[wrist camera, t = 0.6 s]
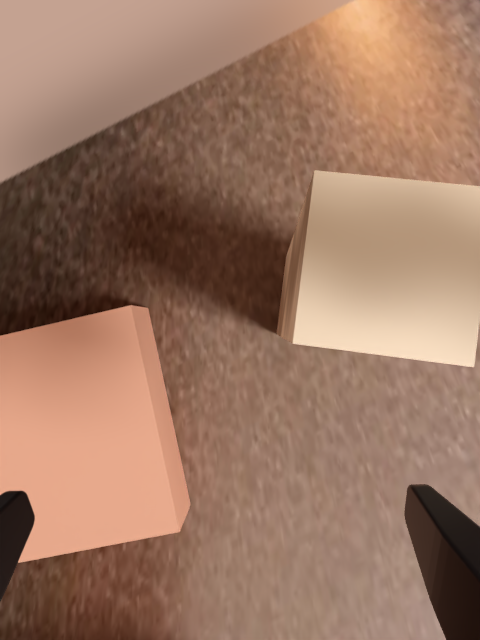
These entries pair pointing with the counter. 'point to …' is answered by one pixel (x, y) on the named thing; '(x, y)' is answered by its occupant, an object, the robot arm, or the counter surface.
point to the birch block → (385, 268)
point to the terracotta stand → (89, 433)
